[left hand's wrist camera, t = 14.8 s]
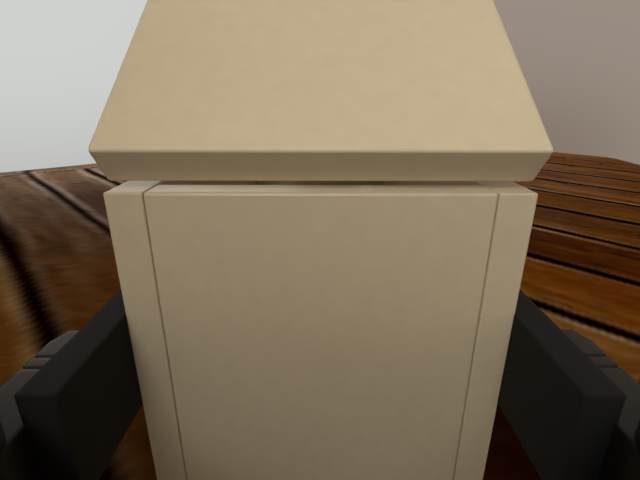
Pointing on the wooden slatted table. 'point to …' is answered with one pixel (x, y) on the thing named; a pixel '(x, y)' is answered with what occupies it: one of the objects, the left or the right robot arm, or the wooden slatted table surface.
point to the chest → (320, 323)
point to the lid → (320, 94)
